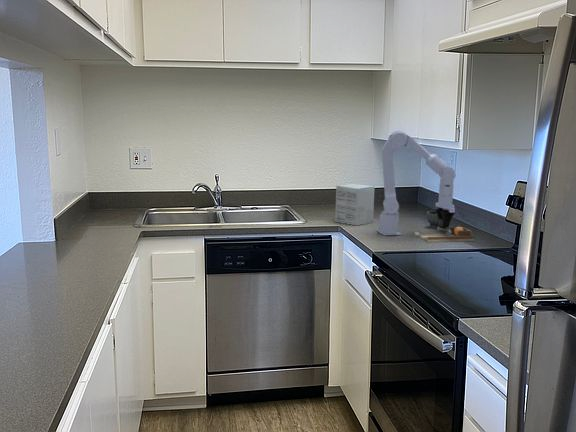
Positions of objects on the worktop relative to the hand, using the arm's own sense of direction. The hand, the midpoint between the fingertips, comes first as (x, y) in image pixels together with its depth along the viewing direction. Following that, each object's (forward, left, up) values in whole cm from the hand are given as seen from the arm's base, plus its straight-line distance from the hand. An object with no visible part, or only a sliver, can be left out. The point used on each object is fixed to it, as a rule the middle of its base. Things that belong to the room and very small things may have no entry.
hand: (443, 226), depth 247 cm
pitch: (+3, -2, -4) cm, 6 cm away
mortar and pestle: (-18, +5, -4) cm, 19 cm away
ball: (+6, +4, -1) cm, 7 cm away
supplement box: (-34, -30, -4) cm, 45 cm away
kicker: (+3, 0, -3) cm, 4 cm away
